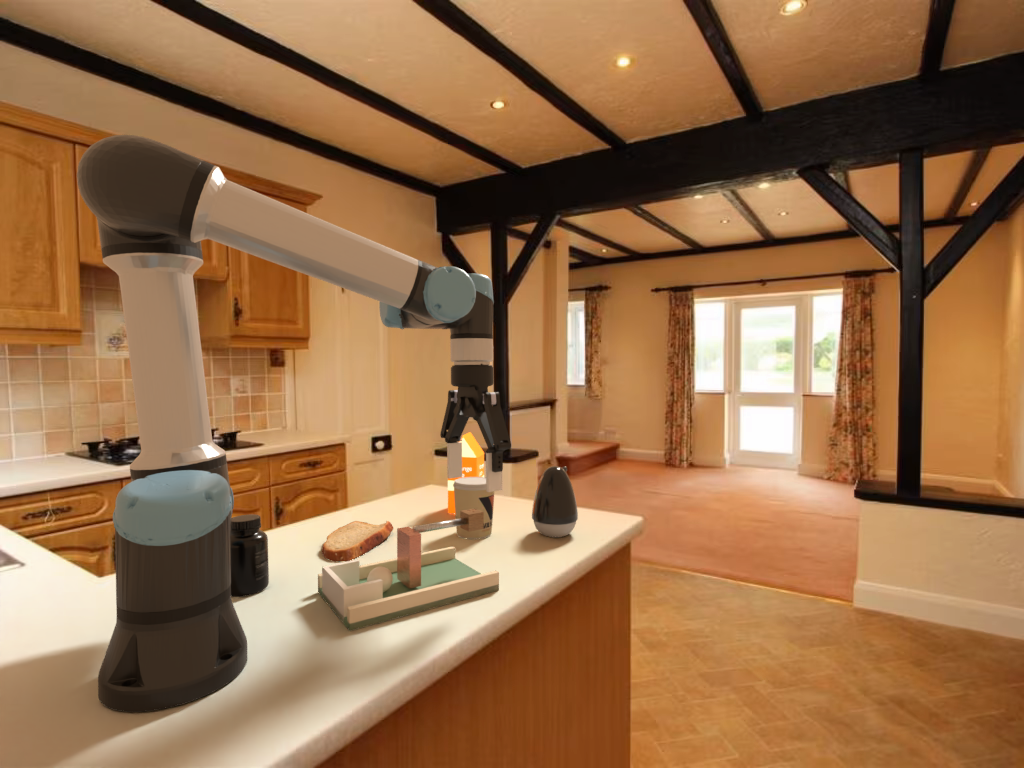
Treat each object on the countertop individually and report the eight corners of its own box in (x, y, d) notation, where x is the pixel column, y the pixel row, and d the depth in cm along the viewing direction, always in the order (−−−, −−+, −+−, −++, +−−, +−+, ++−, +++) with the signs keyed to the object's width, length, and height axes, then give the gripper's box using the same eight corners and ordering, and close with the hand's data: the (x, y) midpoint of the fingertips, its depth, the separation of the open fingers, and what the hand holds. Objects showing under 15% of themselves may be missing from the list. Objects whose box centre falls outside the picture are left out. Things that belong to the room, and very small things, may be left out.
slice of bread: (333, 566, 102) (333, 546, 102) (303, 542, 116) (303, 524, 116) (418, 547, 113) (418, 529, 113) (382, 527, 127) (382, 511, 127)
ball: (372, 599, 84) (372, 573, 84) (363, 590, 87) (363, 566, 87) (396, 593, 86) (396, 568, 86) (387, 585, 90) (387, 561, 90)
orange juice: (447, 513, 138) (447, 435, 138) (456, 505, 147) (456, 431, 146) (477, 515, 137) (477, 436, 136) (484, 506, 146) (485, 432, 145)
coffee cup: (489, 541, 116) (489, 485, 115) (447, 539, 118) (447, 483, 117) (499, 529, 125) (499, 477, 125) (460, 526, 127) (460, 475, 126)
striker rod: (409, 588, 87) (409, 526, 87) (397, 578, 91) (397, 519, 91) (486, 569, 95) (486, 513, 95) (471, 561, 99) (472, 507, 99)
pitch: (349, 630, 76) (349, 595, 76) (318, 592, 89) (317, 562, 89) (498, 590, 90) (499, 560, 90) (452, 562, 103) (452, 536, 103)
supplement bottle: (259, 578, 95) (259, 510, 95) (275, 589, 90) (274, 517, 90) (217, 589, 90) (216, 517, 90) (230, 601, 85) (229, 526, 85)
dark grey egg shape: (585, 531, 123) (586, 464, 123) (564, 544, 114) (565, 472, 114) (546, 524, 129) (546, 460, 128) (523, 536, 120) (523, 467, 120)
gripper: (531, 363, 88) (532, 493, 88) (456, 364, 108) (457, 470, 109) (492, 363, 83) (493, 500, 84) (421, 364, 104) (423, 475, 104)
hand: (473, 484), depth 96 cm, fingers open, 13 cm apart
